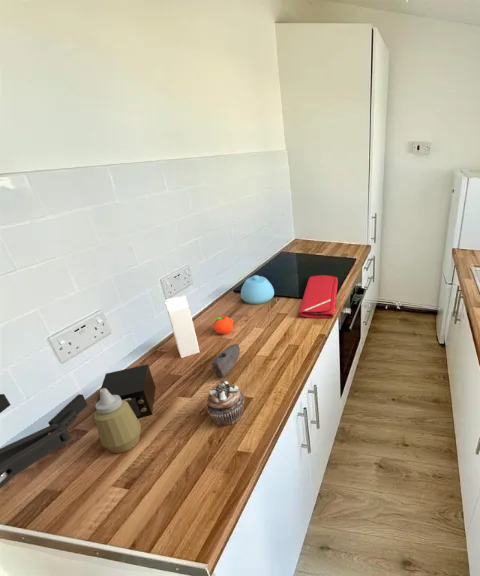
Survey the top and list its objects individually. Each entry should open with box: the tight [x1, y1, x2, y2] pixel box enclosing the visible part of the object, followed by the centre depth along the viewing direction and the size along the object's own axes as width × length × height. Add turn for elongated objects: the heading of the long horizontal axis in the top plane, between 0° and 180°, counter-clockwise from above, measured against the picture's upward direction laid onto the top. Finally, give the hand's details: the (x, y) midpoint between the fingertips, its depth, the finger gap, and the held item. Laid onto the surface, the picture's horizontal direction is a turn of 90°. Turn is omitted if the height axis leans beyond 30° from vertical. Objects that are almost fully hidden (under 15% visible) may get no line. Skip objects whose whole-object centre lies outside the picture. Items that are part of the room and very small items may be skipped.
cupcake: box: [206, 380, 246, 427], centre depth 90 cm, size 10×10×10 cm
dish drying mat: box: [298, 274, 339, 319], centre depth 159 cm, size 16×41×4 cm, turn 5°
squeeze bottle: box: [93, 388, 142, 454], centre depth 79 cm, size 8×8×18 cm
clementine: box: [212, 315, 234, 335], centre depth 127 cm, size 8×7×7 cm
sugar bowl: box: [240, 274, 275, 305], centre depth 153 cm, size 15×15×12 cm
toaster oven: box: [95, 364, 157, 420], centre depth 91 cm, size 10×13×9 cm
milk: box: [164, 295, 201, 359], centre depth 112 cm, size 6×6×22 cm
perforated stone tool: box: [211, 343, 241, 379], centre depth 109 cm, size 15×5×7 cm, turn 175°
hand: (44, 399), depth 61 cm, fingers open, 13 cm apart
